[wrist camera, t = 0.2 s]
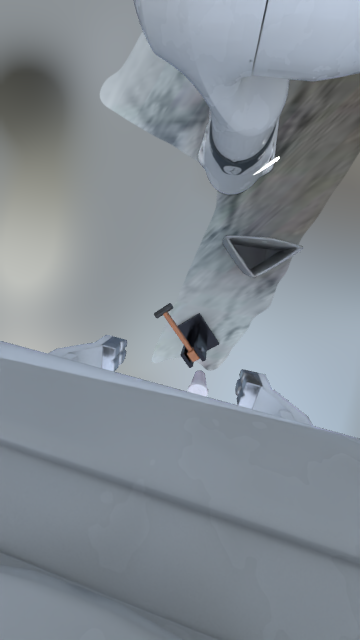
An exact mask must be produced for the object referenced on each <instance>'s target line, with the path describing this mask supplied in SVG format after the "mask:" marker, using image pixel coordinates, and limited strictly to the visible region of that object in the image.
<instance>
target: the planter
mask: <svg viewBox="0 0 360 640" xmlns="http://www.w3.org/2000/svg"><path fill="white" fill-rule="evenodd" d="M222 243H223V245H224V246H225V248H226V250H227V251H228V253H229V254H230V256H231V257H232V259H233V260H234V262H235V263H236V264H237V266H238V267H239V268H240V270H241V271H242V272H243V273H244V274H246V275H248V276H250V277H252V278H255V277H257V276H259V275H261V274H263V273H265V272H267V271H269V270H270V269H272V268H274V267H275V266H277V265H279V264H281V263H282V262H284V261H285V260H287V259H288V258H290V257H292V256H293V255H295V254H296V253H298V252H299V251H301V250H302V249H303V246H300V245H297V244H294V243H290V242H286V241H283V240H279V239H275V238H271V237H253V236H233V235H226V236H225V238H224V240H223V242H222Z"/></svg>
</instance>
